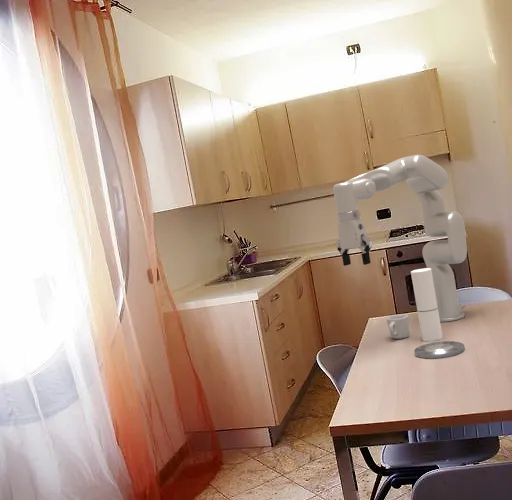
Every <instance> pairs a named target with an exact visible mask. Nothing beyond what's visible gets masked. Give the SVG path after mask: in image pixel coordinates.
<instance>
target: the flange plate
mask: <svg viewBox="0 0 512 500" xmlns="http://www.w3.org/2000/svg"><path fill="white" fill-rule="evenodd" d="M465 349H466V348H465V344H464V343H463V342H459V341H450V340H445V341H444V340H443V341H433V342H429V343H424V344H422V345H419V346H418V347H416V348H415V349H414V351H413V352H414V356H415V357H416V358H419V359H425V360H434V359H435V360H436V359H437V360H439V359H446V358H450V357H455V356H458V355H460V354H462V353H464V352H465V351H466V350H465Z"/></svg>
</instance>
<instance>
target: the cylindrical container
mask: <svg viewBox="0 0 512 500" xmlns="http://www.w3.org/2000/svg"><path fill="white" fill-rule="evenodd" d="M410 275H411V280H412V281H411V282H412V285H413V286H412V287H413V293H414V299H415V305H416V310H417V317H418V321H419V322H418V323H419V329H420V334H421V341H423V342H437V341H439V340H442V339H443V338H444V337H443V331H442V325H441V322H440V318H439V312H438V306H437V300H436V294H435V288H434V282H433V276H432V270H431V268H427V267H424V268H418V269H417V268H416V269H414V270H411V271H410Z"/></svg>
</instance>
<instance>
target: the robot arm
mask: <svg viewBox="0 0 512 500" xmlns="http://www.w3.org/2000/svg"><path fill="white" fill-rule="evenodd" d="M404 181H406V186H407V187H408V189H409V190H410V191H411V192H412V193H413V194H415V196H416V197H417V198H418V199H419V201H420V203H421V206H422V207H421V209H422V218H423V219H422V220H423V227H424V228H423V229H424V232H425V235H427V236H428V237H429V238H439V237H440V238H441V237H447V239H438V240H437V239H436V240H431V241H429V242H427V243H426V244H425V245H423V248H422V258H423V261H424V263H425V266H426V268H431V270H432V276H433V282H434V288H435V294H436V300H437V306H438V312H439V318H440V323H442V322H445V323H446V322H452V321H457V320H461V319H464V317H465V313H464V312H462V310H464V309H465V308H466V307H467V306H466V304H465V303H463V302H462V303H461V304H460V303H459V299H458V298H459V297H458V291H457V287H456V286H457V285H456V279H455V274H454V271H453V269H452V267H451V266H450V265H455V264H461V263H463V262H464V261H465V260H466V258H467V255H468V247H467V236H466V234H467V233H466V224H465V221H464V218H463V216H462V215H461V214H460V213H459V212H458V211H453V210H451V211H449V210H448V211H446V207H445V201H444V198H443V196H442V194H441V193H440V192H439V191H440V190H443V189H444V188H446V187H447V185H448V183H449V174H448V173H447V171H446V170H445V168H444V167H442V166H441V165H440V164H438V163H436V162H435V161H434V160H432V159H430V158H429V157H427V156H425V155H423V154H413V155H407V156H405V157H404V156H403V157H401V158H398V159H395V160H394V161H391V162H389V163H387V164H385V165H382V166H380V167H377V168H375V169H373V170H370V171H368V172H366V173H362V174H359V175H357V176H355V177H353V178H350V179H348V180H346V181H344V182H339V183H336V184H334V185H333V187H332V190H333V196H334V202H335V208H336V214H337V220H338V223H337V224H338V225H337V227H338V229H337V230H338V239H337V241H336V242H335V243H334V245H335V247H336V249H337V251H338V252H339V254H340V255H341V257H342V259H341V260H342V262H343V263H342V265H343V266H344V267H345V266H349V265H352V263H351V256H350V253H349V250H356V249H359V250H360V252H361V259H362V264H363V266H364V265H365V266H366V265H370V264H371V256H370V253H371V248H372V246H373V245H372V244H373V239H372V238H370V237H368V235H367V230H366V227H365V224H364V222H363V219H362V218H360V217H361V213H360V212H359V206H358V201H364V200H368V199H371V198H373V196H375V194H376V192H382V191H385V190H388V189H391V188H392V187H394V186H396V185H399V184H401V183H403V182H404Z"/></svg>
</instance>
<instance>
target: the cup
mask: <svg viewBox="0 0 512 500" xmlns="http://www.w3.org/2000/svg"><path fill="white" fill-rule="evenodd" d="M386 323H387V326H388V329H389V334H390V336H391V338H392V339H395V340H401V339H406V338H408V337H409V335H410V328H409V326H410V324H409V316H408V314H405V313H403V314H402V313H401V314H393V315H390V316H387V317H386Z"/></svg>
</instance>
